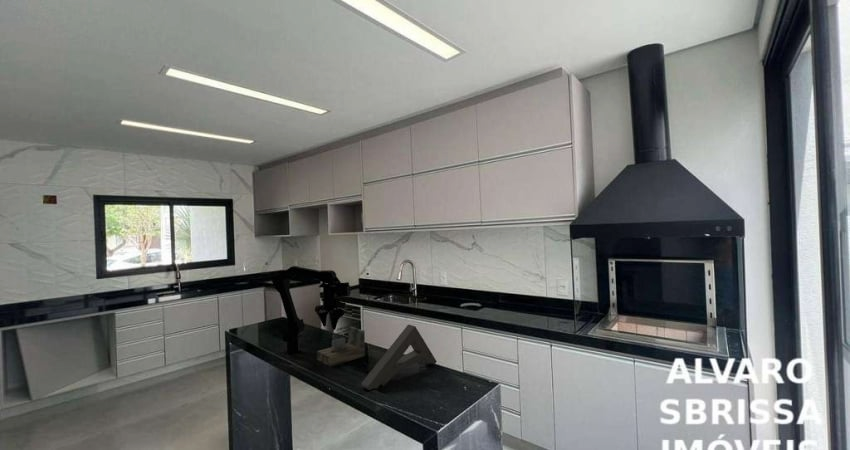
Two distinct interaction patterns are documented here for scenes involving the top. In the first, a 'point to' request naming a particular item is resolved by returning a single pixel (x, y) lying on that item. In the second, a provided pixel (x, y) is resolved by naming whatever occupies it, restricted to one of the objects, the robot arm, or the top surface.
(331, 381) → the top surface
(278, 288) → the robot arm
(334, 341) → the bracket plate
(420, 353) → the wall bracket
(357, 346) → the post base
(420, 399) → the top surface
